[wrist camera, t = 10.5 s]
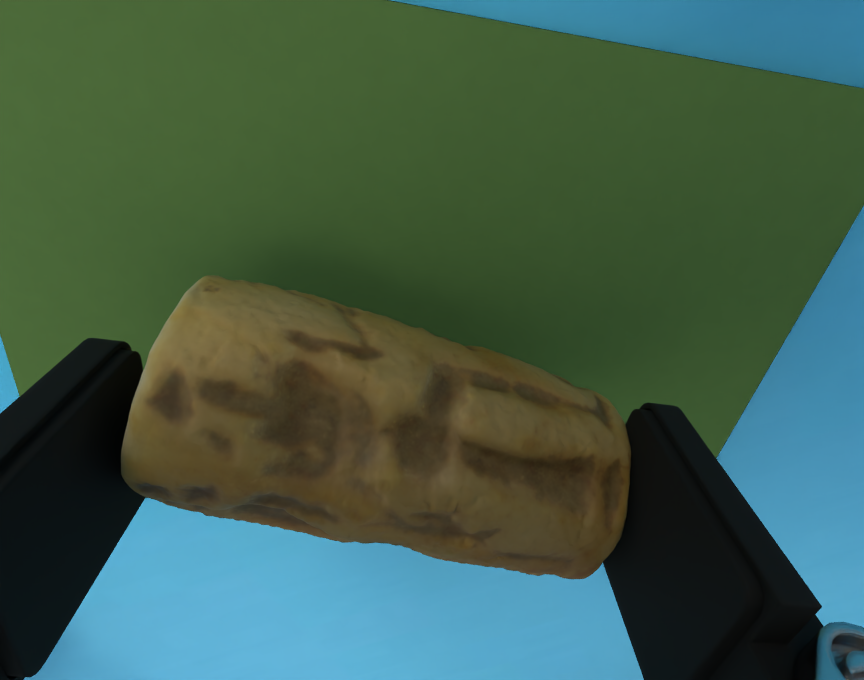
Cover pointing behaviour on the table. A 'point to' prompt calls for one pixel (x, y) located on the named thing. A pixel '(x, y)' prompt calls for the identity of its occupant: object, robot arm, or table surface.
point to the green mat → (419, 186)
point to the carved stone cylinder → (373, 434)
